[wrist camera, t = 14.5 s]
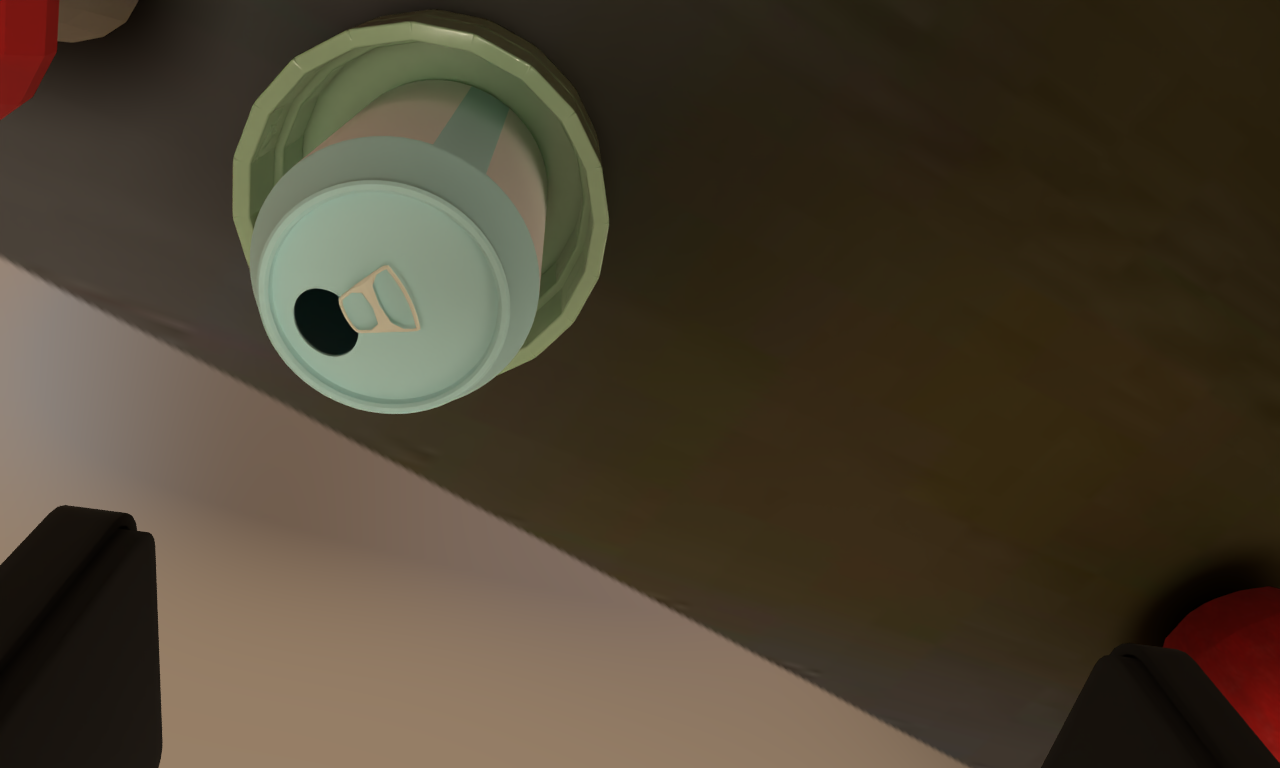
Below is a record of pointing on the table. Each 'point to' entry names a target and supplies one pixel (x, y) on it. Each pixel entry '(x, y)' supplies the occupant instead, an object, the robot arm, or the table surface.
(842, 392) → the table surface
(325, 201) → the can
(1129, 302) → the table surface
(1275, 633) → the apple
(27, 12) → the decorative mushroom
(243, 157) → the green faceted bowl
